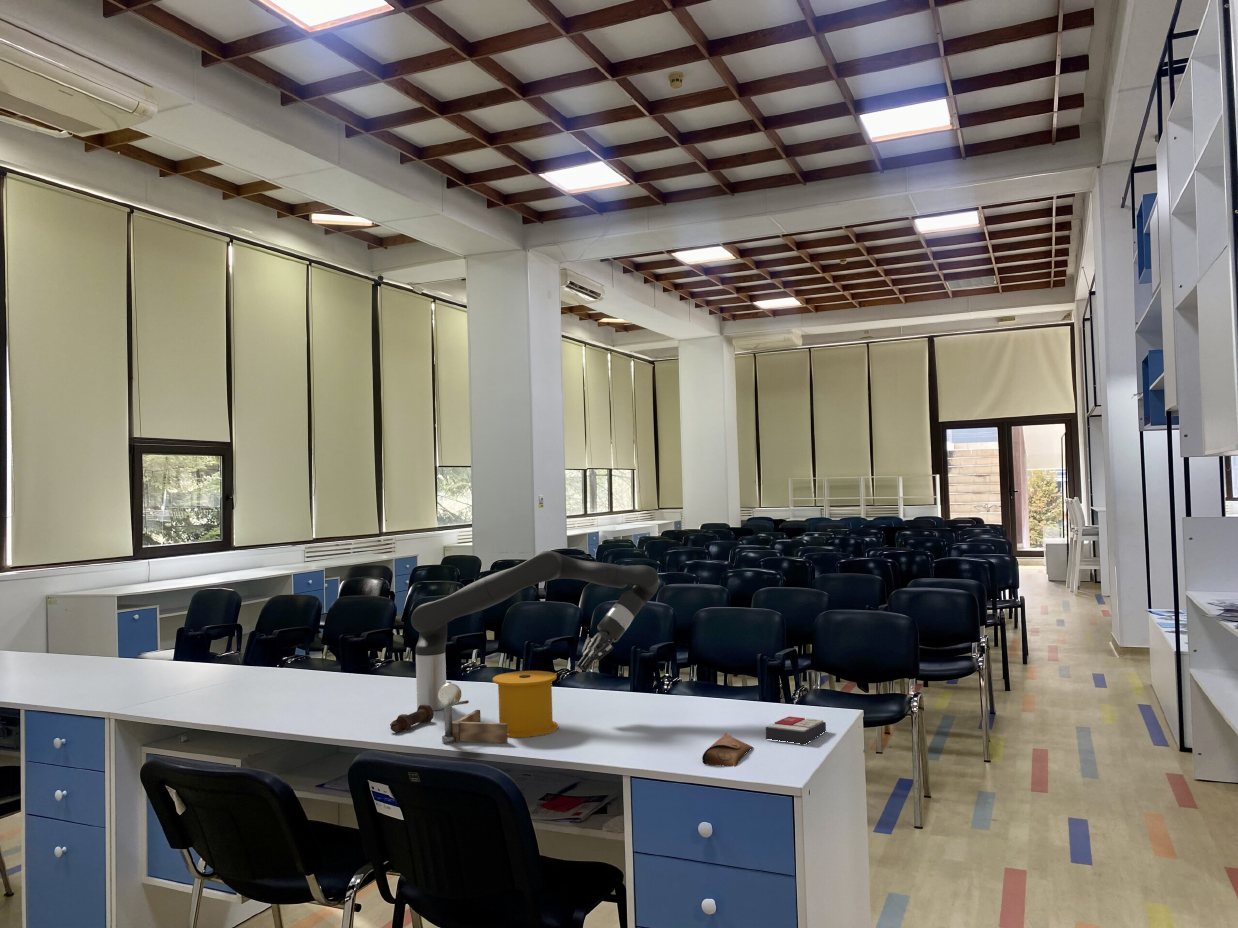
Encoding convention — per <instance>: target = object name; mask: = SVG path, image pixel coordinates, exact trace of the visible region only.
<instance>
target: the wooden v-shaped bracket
mask: <svg viewBox="0 0 1238 928" xmlns="http://www.w3.org/2000/svg"><path fill="white" fill-rule="evenodd" d="M452 733H453V736H455V743H460V742H459V741H468V742H467V743H482V742H491V743H490V744H507V743H508V738H509V737H507V723H499V722H481V709H475V710H473V711H472V712H469V713H468V714H466V715H464V716H462V717H460V718H459V719H458V720H452ZM469 741H470V742H469ZM473 741H474V742H473ZM492 742H494V743H492Z"/></svg>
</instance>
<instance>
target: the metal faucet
mask: <svg viewBox="0 0 1238 928" xmlns="http://www.w3.org/2000/svg"><path fill="white" fill-rule="evenodd" d="M438 697H439V700H440V702H441V703H442V704H444V735H442V736H441V743H442V742H443V743H452V744H455V743H456V742H455V736H453V733H452V722H453V707H454V706H459V705H466V704H469V703H470V702H469V700H461V698H462V689H461V688H460V686H459V685H457V684H455V683H453V682H452V681H446V682H444V685H443V686H442V687H441V688H440V690H439V693H438ZM454 742H455V743H454ZM443 743H442V744H443Z"/></svg>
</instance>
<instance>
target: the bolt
mask: <svg viewBox="0 0 1238 928" xmlns="http://www.w3.org/2000/svg"><path fill="white" fill-rule="evenodd" d="M416 709H417V708H416ZM434 716H435V714H434V710H432V708H431V707H430V705H419V707H418V709H417V710H416V711H414V712H412V713H409V714H406V713H405V714H404V713H401V714H399V715H398V716H397V718H396V719H395V720H393V721H391V723H390V728H389V729H390V731H392V732H394V733H396V732H399V731H403V730H407V731H409V730H410V729H411V727H412V726H413V725H416V724H418V723H427V724H429V723H431V722H432V720H433V718H434ZM428 722H429V723H428Z"/></svg>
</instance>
